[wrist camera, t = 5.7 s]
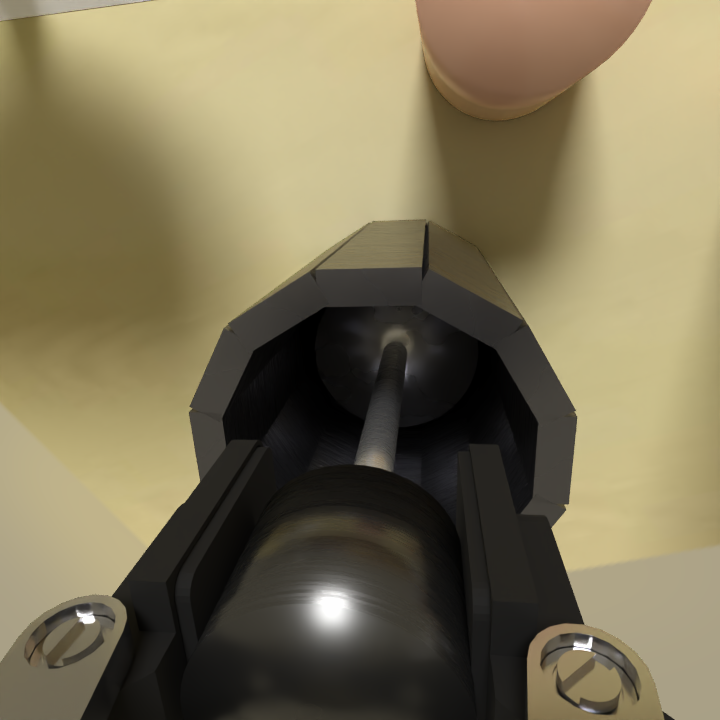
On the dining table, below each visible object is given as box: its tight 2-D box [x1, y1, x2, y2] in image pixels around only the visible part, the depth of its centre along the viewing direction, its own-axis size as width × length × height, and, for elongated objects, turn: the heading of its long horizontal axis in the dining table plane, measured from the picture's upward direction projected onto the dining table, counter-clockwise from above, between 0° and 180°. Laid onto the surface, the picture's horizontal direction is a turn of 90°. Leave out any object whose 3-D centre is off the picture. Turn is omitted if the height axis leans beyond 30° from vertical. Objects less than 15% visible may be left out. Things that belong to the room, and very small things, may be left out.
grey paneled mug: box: [189, 220, 577, 528], centre depth 18 cm, size 9×11×12 cm
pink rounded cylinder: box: [415, 0, 652, 121], centre depth 16 cm, size 6×6×7 cm
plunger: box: [180, 306, 478, 720], centre depth 13 cm, size 6×6×15 cm
